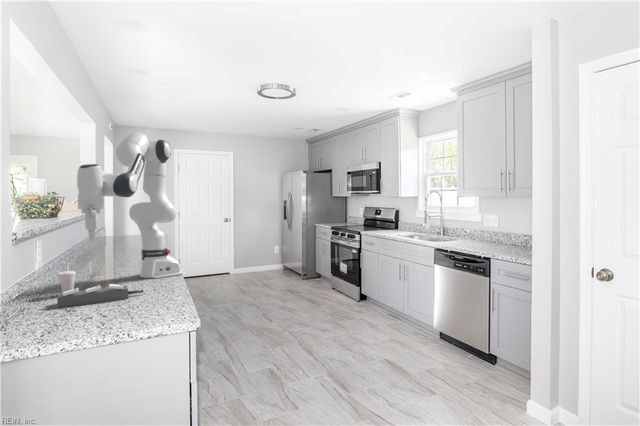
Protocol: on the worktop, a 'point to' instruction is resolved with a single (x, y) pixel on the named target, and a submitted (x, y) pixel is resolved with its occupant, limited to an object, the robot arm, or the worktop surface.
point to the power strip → (94, 296)
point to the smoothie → (67, 279)
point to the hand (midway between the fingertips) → (92, 239)
